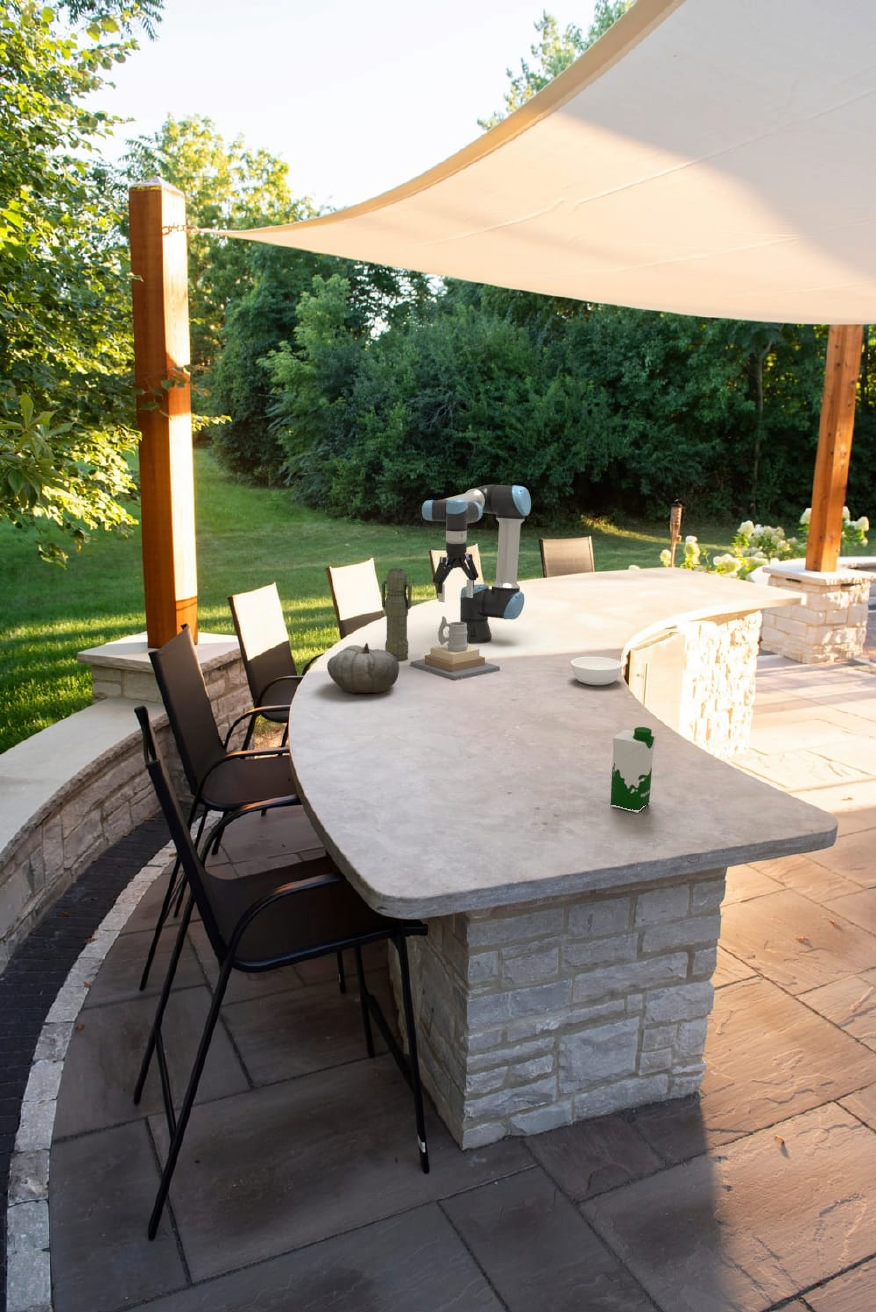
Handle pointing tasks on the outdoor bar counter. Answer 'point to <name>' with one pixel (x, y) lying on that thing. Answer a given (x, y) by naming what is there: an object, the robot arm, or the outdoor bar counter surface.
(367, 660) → the gourd
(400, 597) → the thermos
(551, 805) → the outdoor bar counter surface
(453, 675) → the plinth board
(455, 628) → the mug
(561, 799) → the outdoor bar counter surface
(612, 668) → the bowl
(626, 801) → the milk carton
